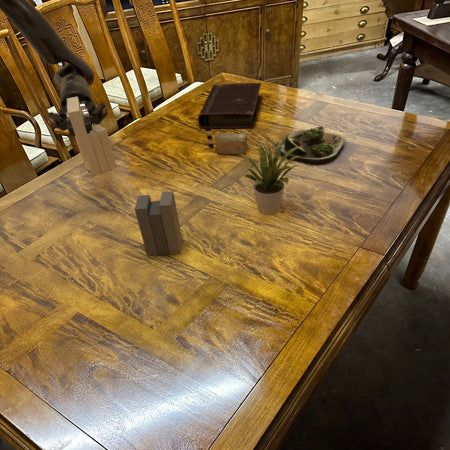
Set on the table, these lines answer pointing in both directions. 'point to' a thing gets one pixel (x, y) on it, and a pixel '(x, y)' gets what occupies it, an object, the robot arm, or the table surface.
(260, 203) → the house plant
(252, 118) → the diary
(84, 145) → the beige book
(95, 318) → the table surface
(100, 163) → the beige books
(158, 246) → the grey books
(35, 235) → the table surface
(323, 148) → the salad plate
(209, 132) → the cuneiform tablet
